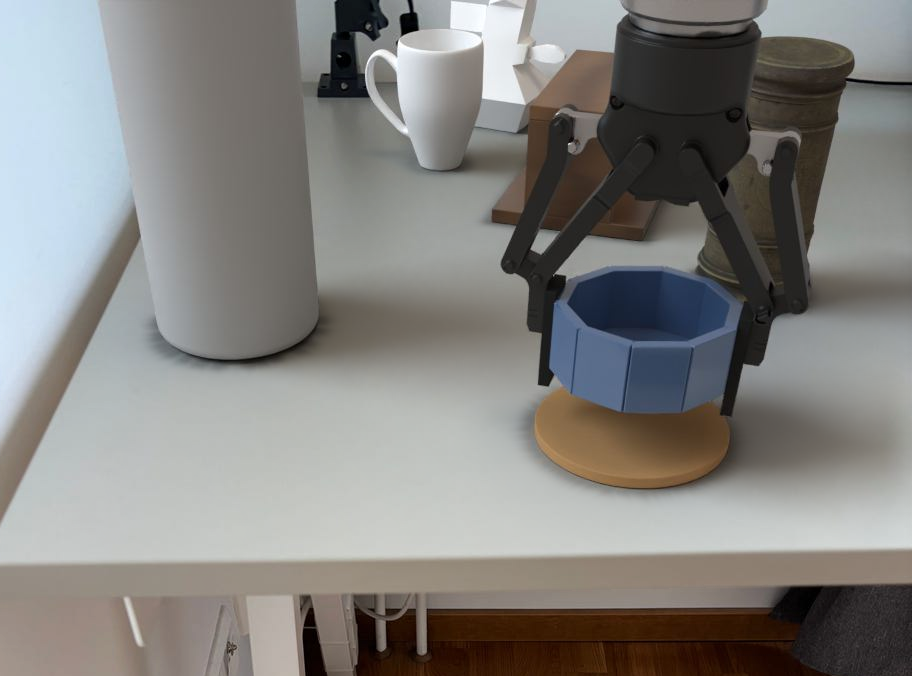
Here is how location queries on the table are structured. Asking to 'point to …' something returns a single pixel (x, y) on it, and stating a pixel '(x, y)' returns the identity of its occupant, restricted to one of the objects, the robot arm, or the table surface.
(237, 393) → the table surface
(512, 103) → the white faceted sculpture
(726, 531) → the table surface
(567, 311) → the bowl
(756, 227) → the container
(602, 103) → the stand
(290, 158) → the cylinder vase
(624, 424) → the coaster
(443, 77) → the mug
